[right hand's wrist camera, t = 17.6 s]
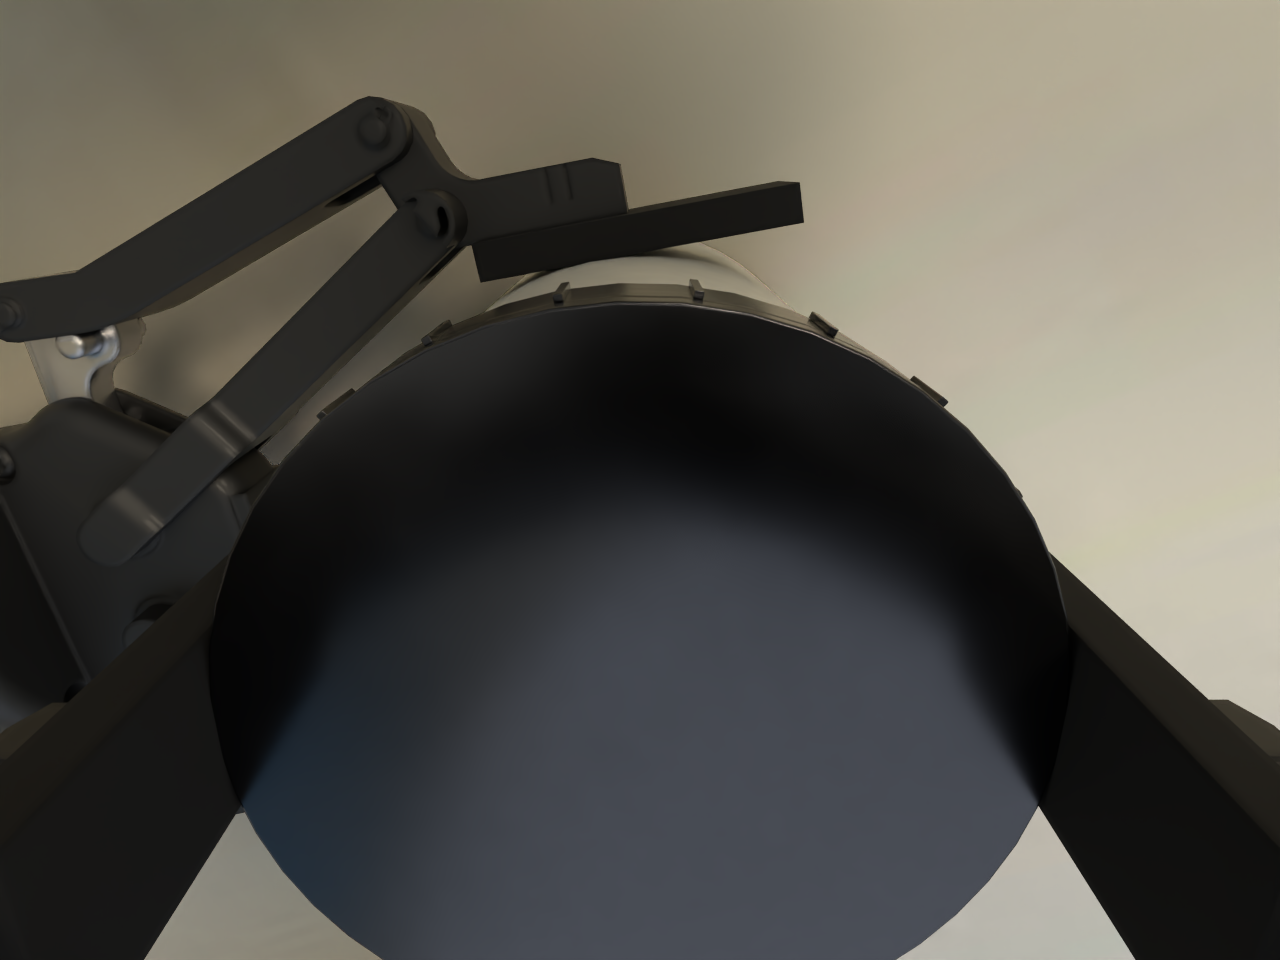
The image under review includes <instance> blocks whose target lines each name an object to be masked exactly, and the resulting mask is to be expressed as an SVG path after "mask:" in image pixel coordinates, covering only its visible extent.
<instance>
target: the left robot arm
mask: <svg viewBox="0 0 1280 960" xmlns="http://www.w3.org/2000/svg"><path fill="white" fill-rule="evenodd" d="M382 186H383V187H384V189H385V191H386V192H387V194H388V195H389V197H390V198H391V200H392V201H393V203H394V204H395V206H396V207H397V209H398V210H397V211H396V212H395V213H394V214H393V215H392V216H391V217H390V218H389V219H388V220H387V221H386V222H385V223H384V224H383V225H382V226H381V228H380V229H379V230H378V231H377V232H376V233H375V234H374V235H373V236H372V237H371V238H370V239H369V240H368V241H367V242H366V243H365V244H364V245H363V246H362V247H361V248H360V249H359V250H358V251H357V252H356V253H355V254H354V255H353V256H352V257H351V258H350V259H349V260H348V261H347V262H346V263H345V264H344V265H343V266H342V267H341V268H340V269H339V270H338V271H337V272H336V273H335V274H334V275H333V276H332V277H331V278H330V279H329V280H328V281H327V282H326V283H325V284H324V285H323V286H322V287H321V288H320V289H319V290H318V291H317V292H316V294H315V295H314V296H313V297H312V298H311V299H310V300H309V301H308V302H307V303H306V304H305V305H304V306H303V307H302V308H301V309H300V310H299V311H298V312H297V313H296V314H295V315H294V316H293V317H292V318H291V319H290V320H289V321H288V322H287V323H286V324H285V325H284V326H283V327H282V328H281V329H280V330H279V331H278V332H277V333H276V334H275V335H274V336H273V337H272V338H271V339H270V340H269V341H268V342H267V343H266V344H265V345H264V346H263V347H262V348H261V349H260V350H259V351H258V352H257V353H256V354H255V355H254V356H253V357H252V358H251V360H250V361H249V362H248V363H247V364H246V365H245V366H244V367H243V368H242V369H241V370H240V371H239V372H238V373H237V374H236V375H235V376H234V377H233V378H232V379H231V380H230V381H229V382H228V383H227V384H226V385H225V386H224V387H223V388H222V389H221V390H220V391H219V392H218V393H217V394H216V395H215V396H214V397H213V398H212V399H211V400H209V401H208V402H207V403H206V404H204V405H203V406H202V407H200V408H199V409H198V410H196V411H195V412H194V413H193V414H192V415H190V416H189V417H186V416H184V415H182V414H179V413H177V412H175V411H172V410H170V409H168V408H165V407H163V406H161V405H158V404H156V403H154V402H151V401H149V400H147V399H144V398H142V397H140V396H137V395H135V394H132V393H130V392H128V391H125V390H122V389H118V388H115V387H114V383H113V371H114V369H115V367H116V365H117V364H118V363H119V362H120V361H121V360H122V359H124V358H127V357H129V356H131V355H133V354H135V353H136V352H137V351H138V350H139V348H140V346H141V343H142V336H144V335H145V332H146V325H145V323H144V321H143V319H142V318H141V317H144V316H147V315H151V314H154V313H158V312H161V311H164V310H166V309H169V308H172V307H175V306H177V305H179V304H181V303H183V302H185V301H187V300H189V299H191V298H193V297H195V296H196V295H198V294H200V293H202V292H203V291H205V290H207V289H208V288H210V287H212V286H213V285H215V284H217V283H219V282H220V281H222V280H224V279H225V278H227V277H229V276H231V275H232V274H234V273H236V272H237V271H239V270H241V269H242V268H244V267H246V266H248V265H249V264H251V263H253V262H254V261H256V260H258V259H259V258H261V257H263V256H265V255H266V254H268V253H270V252H271V251H273V250H275V249H276V248H278V247H280V246H282V245H283V244H285V243H287V242H288V241H290V240H292V239H293V238H295V237H297V236H299V235H300V234H302V233H304V232H305V231H307V230H309V229H310V228H312V227H314V226H316V225H317V224H319V223H321V222H322V221H324V220H326V219H327V218H329V217H331V216H333V215H334V214H336V213H338V212H339V211H341V210H343V209H344V208H346V207H348V206H350V205H351V204H353V203H355V202H356V201H358V200H360V199H362V198H363V197H365V196H367V195H368V194H370V193H372V192H373V191H375V190H377V189H379V188H380V187H382ZM799 223H804V218H803V209H802V200H801V190H800V182H783V181H776V182H771V183H766V184H760V185H755V186H750V187H745V188H739V189H734V190H729V191H723V192H718V193H713V194H708V195H702V196H697V197H692V198H686V199H681V200H676V201H671V202H665V203H660V204H655V205H649V206H644V207H639V208H633V209H628V204H627V198H626V193H625V187H624V181H623V176H622V170H621V164H618V163H614V162H609V161H605V160H600V159H596V158H589V159H583V160H578V161H573V162H568V163H563V164H558V165H552V166H547V167H542V168H537V169H532V170H527V171H521V172H516V173H511V174H506V175H501V176H496V177H490V178H485V179H480V180H479V179H474V178H471V177H469V176H467V175H465V174H463V173H462V172H461V171H459V170H458V169H457V168H456V167H455V166H454V164H453V163H452V162H451V160H450V159H449V157H448V156H447V154H446V152H445V151H444V149H443V148H442V146H441V144H440V143H439V141H438V139H437V138H436V136H435V131H434V128H433V125H432V122H431V121H430V120H429V118H428V117H427V116H426V115H425V114H424V113H423V112H421V111H420V110H418V109H416V108H414V107H411V106H408V105H404V104H401V103H398V102H394V101H391V100H387V99H384V98H379V97H371V96H368V97H365V98H362V99H359V100H357V101H355V102H353V103H352V104H350V105H349V106H347V107H345V108H344V109H342V110H340V111H339V112H337V113H335V114H334V115H332V116H331V117H329V118H327V119H326V120H324V121H322V122H321V123H319V124H317V125H316V126H314V127H313V128H311V129H309V130H308V131H306V132H304V133H303V134H301V135H299V136H298V137H296V138H295V139H293V140H291V141H290V142H288V143H286V144H285V145H283V146H281V147H280V148H278V149H277V150H275V151H273V152H272V153H270V154H268V155H267V156H265V157H263V158H262V159H260V160H259V161H257V162H255V163H254V164H252V165H250V166H249V167H247V168H245V169H244V170H242V171H241V172H239V173H237V174H236V175H234V176H232V177H231V178H229V179H227V180H226V181H224V182H223V183H221V184H219V185H218V186H216V187H214V188H213V189H211V190H209V191H208V192H206V193H205V194H203V195H201V196H200V197H198V198H196V199H195V200H193V201H191V202H190V203H188V204H187V205H185V206H183V207H182V208H180V209H178V210H177V211H175V212H173V213H172V214H170V215H169V216H167V217H165V218H164V219H162V220H160V221H159V222H157V223H155V224H154V225H152V226H151V227H149V228H147V229H146V230H144V231H142V232H141V233H139V234H137V235H136V236H134V237H133V238H131V239H129V240H128V241H126V242H124V243H123V244H121V245H119V246H118V247H116V248H115V249H113V250H111V251H110V252H108V253H106V254H105V255H103V256H101V257H100V258H98V259H97V260H95V261H93V262H92V263H90V264H88V265H87V266H85V267H83V268H82V269H80V270H76V271H69V272H63V273H57V274H52V275H46V276H40V277H34V278H28V279H22V280H17V281H11V282H5V283H0V339H2V340H4V341H6V342H17V343H19V342H24V343H25V345H26V348H27V350H28V353H29V355H30V358H31V360H32V363H33V365H34V368H35V371H36V373H37V376H38V378H39V381H40V383H41V386H42V388H43V391H44V393H45V396H46V399H47V401H48V404H49V405H47V406H46V407H44V408H43V409H42V410H40V411H39V412H38V413H37V414H36V415H35V417H34V418H33V419H32V420H31V421H30V422H28V423H24V424H19V425H13V426H8V427H2V428H0V734H1V733H2V732H3V731H4V730H5V729H6V728H8V727H10V726H12V725H14V724H15V723H17V722H19V721H21V720H22V719H24V718H26V717H28V716H30V715H31V714H33V713H35V712H37V711H38V710H40V709H42V708H44V707H46V706H47V705H49V704H51V703H68V702H69V701H70V700H71V699H72V698H73V697H74V696H75V695H76V694H78V693H79V692H80V691H81V690H82V689H83V688H84V687H85V686H86V685H87V684H88V683H89V682H90V681H92V680H93V679H94V678H95V677H96V676H97V675H98V674H99V673H100V672H101V671H102V670H103V669H105V668H106V667H107V666H108V665H109V664H110V663H111V662H112V661H113V660H114V659H115V658H116V657H117V656H119V655H120V654H121V653H122V652H123V651H124V650H125V649H126V648H127V647H128V646H129V645H130V644H132V643H133V642H134V641H135V640H136V639H137V638H138V637H139V636H140V635H141V634H142V633H143V632H145V631H146V630H147V629H148V628H149V627H150V626H151V625H152V624H153V623H154V622H155V621H156V620H157V619H159V618H160V617H161V616H162V615H163V614H164V613H165V612H166V611H167V610H168V609H169V608H170V607H172V606H173V605H174V604H175V603H176V602H177V601H178V600H179V599H180V598H181V597H182V596H183V595H184V594H186V593H187V592H188V591H189V590H190V589H191V588H192V587H193V586H194V585H195V584H196V583H197V582H199V581H200V580H201V579H202V578H203V577H204V576H205V575H206V574H207V573H208V572H209V571H210V570H212V569H213V568H214V567H215V566H216V565H217V564H218V563H219V562H220V561H221V560H222V559H223V558H224V557H226V556H227V555H228V554H229V553H230V551H231V548H232V546H233V544H234V542H235V540H236V538H237V536H238V534H239V532H240V530H241V527H242V525H243V523H244V521H245V519H246V517H247V515H248V513H249V511H250V508H251V506H252V504H253V503H254V502H255V500H256V499H257V497H258V496H259V494H260V493H261V491H262V490H263V488H264V487H265V485H266V484H267V483H268V481H269V480H270V478H271V477H272V475H273V474H274V472H275V471H276V469H277V468H278V467H279V465H280V464H279V465H273V466H272V465H271V464H270V462H269V461H268V460H267V459H266V458H265V456H264V455H263V454H261V453H260V452H259V450H260V449H261V448H262V447H263V446H264V445H265V444H266V443H267V442H268V441H269V440H270V439H271V438H272V437H273V436H275V435H276V434H277V433H278V432H279V431H280V430H281V429H282V428H283V427H284V426H285V425H286V424H287V423H288V422H289V421H290V420H291V419H292V418H293V417H294V416H295V415H296V414H297V413H298V410H299V409H300V408H301V407H302V406H303V405H304V404H305V403H306V402H307V401H308V400H309V399H310V398H311V397H312V396H313V395H314V394H315V393H316V392H317V391H319V390H320V389H321V388H322V387H323V386H324V385H325V384H326V383H327V382H328V381H329V380H330V379H331V378H332V377H333V376H334V375H335V374H336V373H337V372H338V371H339V370H340V369H341V368H342V367H343V366H344V365H345V364H346V363H347V362H348V361H349V360H350V359H351V358H352V357H353V356H354V355H355V354H357V353H358V352H359V351H360V350H361V349H362V348H363V347H364V346H365V345H366V344H367V343H368V342H369V341H370V340H371V339H372V338H373V337H374V336H375V335H376V334H377V333H378V332H379V331H380V330H381V329H382V328H383V327H384V326H385V325H386V324H387V323H388V322H389V321H390V320H391V319H392V318H393V317H395V316H396V315H397V314H398V313H399V312H400V311H401V310H402V309H403V308H404V307H405V306H406V305H407V304H408V303H409V302H410V301H411V300H412V299H413V298H414V297H415V296H416V295H417V294H418V293H419V292H420V291H421V290H422V289H423V288H424V287H425V286H426V285H427V284H428V283H429V282H430V281H431V280H433V279H434V278H435V277H436V276H437V275H438V274H439V273H440V272H441V271H442V270H443V269H444V268H445V267H446V266H447V265H448V264H449V263H450V262H451V261H452V260H453V259H454V258H455V257H456V256H457V255H458V254H459V253H460V252H461V251H462V250H463V249H464V248H465V247H466V246H470V245H472V249H473V253H474V257H475V261H476V265H477V269H478V274H479V278H480V282H486V281H492V280H497V279H502V278H508V277H513V276H519V275H524V274H529V273H535V272H540V271H546V270H551V269H556V268H562V267H567V266H572V265H578V264H583V263H588V262H594V261H599V260H605V259H610V258H616V257H621V256H626V255H632V254H637V253H642V252H648V251H653V250H659V249H664V248H669V247H675V246H680V245H686V244H691V243H696V242H702V241H707V240H713V239H718V238H723V237H729V236H734V235H739V234H745V233H750V232H756V231H761V230H766V229H772V228H777V227H783V226H788V225H793V224H799ZM244 812H245V811H244V809H243V807H242V805H241V806H240V808H239V810H238V811H237V813H236V814H239V813H244Z"/></svg>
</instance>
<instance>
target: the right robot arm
mask: <svg viewBox="0 0 1280 960" xmlns="http://www.w3.org/2000/svg"><path fill="white" fill-rule="evenodd" d="M1049 554H1050V556H1051V559H1052V561H1053V563H1054V566H1055V569H1056V573H1057V577H1058V581H1059V585H1060V590H1061V594H1062V598H1063V602H1064V606H1065V610H1066V614H1067V622H1068V635H1069V648H1070V660H1071V673H1070V686H1069V699H1068V705H1067V711H1066V716H1065V721H1064V725H1063V730H1062V735H1061V739H1060V744H1059V748H1058V753H1057V758H1056V762H1055V766H1054V768H1053V771H1052V773H1051V776H1050V778H1049V781H1048V783H1047V786H1046V788H1045V791H1044V793H1043V796H1042V798H1041V801H1040V804H1039V805H1038V806H1039V807H1040V809H1041V811H1042V812H1043V814H1044V815H1045V817H1046V818H1047V820H1048V822H1049V823H1050V825H1051V826H1052V828H1053V830H1054V831H1055V833H1056V834H1057V836H1058V837H1059V839H1060V841H1061V842H1062V844H1063V845H1064V847H1065V849H1066V850H1067V852H1068V853H1069V855H1070V857H1071V858H1072V860H1073V861H1074V863H1075V864H1076V866H1077V868H1078V869H1079V871H1080V872H1081V874H1082V876H1083V877H1084V879H1085V880H1086V882H1087V884H1088V885H1089V887H1090V888H1091V890H1092V891H1093V893H1094V895H1095V896H1096V898H1097V899H1098V901H1099V903H1100V904H1101V906H1102V907H1103V909H1104V910H1105V912H1106V914H1107V915H1108V917H1109V918H1110V920H1111V922H1112V923H1113V925H1114V926H1115V928H1116V930H1117V931H1118V933H1119V934H1120V936H1121V937H1122V939H1123V941H1124V942H1125V944H1126V945H1127V947H1128V949H1129V950H1130V952H1131V953H1132V955H1133V957H1134V958H1135V960H1280V730H1278V729H1277V728H1276V727H1275V726H1274V725H1272V724H1270V723H1268V722H1267V721H1265V720H1263V719H1261V718H1259V717H1258V716H1256V715H1254V714H1252V713H1251V712H1249V711H1247V710H1245V709H1243V708H1242V707H1240V706H1238V705H1236V704H1234V703H1233V702H1231V701H1229V700H1208V699H1207V698H1206V697H1205V696H1204V695H1203V694H1202V693H1201V692H1200V691H1199V690H1198V689H1196V688H1195V687H1194V686H1193V685H1192V684H1191V683H1190V682H1189V681H1188V680H1187V679H1186V678H1185V677H1184V676H1182V675H1181V674H1180V673H1179V672H1178V671H1177V670H1176V669H1175V668H1174V667H1173V666H1172V665H1171V664H1169V663H1168V662H1167V661H1166V660H1165V659H1164V658H1163V657H1162V656H1161V655H1160V654H1159V653H1158V652H1157V651H1155V650H1154V649H1153V648H1152V647H1151V646H1150V645H1149V644H1148V643H1147V642H1146V641H1145V640H1144V639H1142V638H1141V637H1140V636H1139V635H1138V634H1137V633H1136V632H1135V631H1134V630H1133V629H1132V628H1131V627H1130V626H1128V625H1127V624H1126V623H1125V622H1124V621H1123V620H1122V619H1121V618H1120V617H1119V616H1118V615H1117V614H1115V613H1114V612H1113V611H1112V610H1111V609H1110V608H1109V607H1108V606H1107V605H1106V604H1105V603H1104V602H1102V601H1101V600H1100V599H1099V598H1098V597H1097V596H1096V595H1095V594H1094V593H1093V592H1092V591H1091V590H1090V589H1088V588H1087V587H1086V586H1085V585H1084V584H1083V583H1082V582H1081V581H1080V580H1079V579H1078V578H1077V577H1075V576H1074V575H1073V574H1072V573H1071V572H1070V571H1069V570H1068V569H1067V568H1066V567H1065V566H1064V565H1063V564H1061V563H1060V562H1059V561H1058V560H1057V559H1056V558H1055V557H1054V556H1053V555H1052V554H1051V553H1050V552H1049ZM228 556H229V554H228V555H227V556H226V557H224V558H223V559H222V560H221V561H220V562H219V563H218V564H217V565H216V566H215V567H214V568H213V569H212V570H210V571H209V572H208V573H207V574H206V575H205V576H204V577H203V578H202V579H201V580H200V581H199V582H197V583H196V584H195V585H194V586H193V587H192V588H191V589H190V590H189V591H188V592H187V593H186V594H184V595H183V596H182V597H181V598H180V599H179V600H178V601H177V602H176V603H175V604H174V605H173V606H172V607H170V608H169V609H168V610H167V611H166V612H165V613H164V614H163V615H162V616H161V617H160V618H159V619H157V620H156V621H155V622H154V623H153V624H152V625H151V626H150V627H149V628H148V629H147V630H146V631H145V632H143V633H142V634H141V635H140V636H139V637H138V638H137V639H136V640H135V641H134V642H133V643H132V644H130V645H129V646H128V647H127V648H126V649H125V650H124V651H123V652H122V653H121V654H120V655H119V656H117V657H116V658H115V659H114V660H113V661H112V662H111V663H110V664H109V665H108V666H107V667H106V668H105V669H103V670H102V671H101V672H100V673H99V674H98V675H97V676H96V677H95V678H94V679H93V680H92V681H90V682H89V683H88V684H87V685H86V686H85V687H84V688H83V689H82V690H81V691H80V692H79V693H78V694H76V695H75V696H74V697H73V698H72V699H71V700H70V701H69V702H68V703H51V704H49V705H47V706H46V707H44V708H42V709H40V710H38V711H37V712H35V713H33V714H31V715H30V716H28V717H26V718H24V719H22V720H21V721H19V722H17V723H15V724H14V725H12V726H10V727H8V728H6V729H5V730H4V731H3V732H2V733H1V734H0V960H144V959H145V957H146V956H147V954H148V952H149V951H150V949H151V948H152V946H153V945H154V943H155V941H156V940H157V938H158V937H159V935H160V933H161V932H162V930H163V929H164V927H165V926H166V924H167V922H168V921H169V919H170V918H171V916H172V914H173V913H174V911H175V910H176V908H177V906H178V905H179V903H180V902H181V900H182V899H183V897H184V895H185V894H186V892H187V891H188V889H189V887H190V886H191V884H192V883H193V881H194V879H195V878H196V876H197V875H198V873H199V872H200V870H201V868H202V867H203V865H204V864H205V862H206V860H207V859H208V857H209V856H210V854H211V853H212V851H213V849H214V848H215V846H216V845H217V843H218V841H219V840H220V838H221V837H222V835H223V833H224V832H225V830H226V829H227V827H228V826H229V824H230V822H231V821H232V819H233V818H234V816H235V814H236V813H237V811H238V810H239V808H240V806H241V803H240V801H239V799H238V797H237V796H236V794H235V792H234V789H233V786H232V783H231V780H230V777H229V774H228V771H227V769H226V766H225V763H224V759H223V755H222V751H221V747H220V742H219V738H218V733H217V728H216V723H215V718H214V713H213V708H212V704H211V698H210V676H209V646H210V638H211V630H212V622H213V614H214V606H215V600H216V597H217V594H218V590H219V587H220V583H221V580H222V576H223V573H224V570H225V566H226V563H227V559H228Z"/></svg>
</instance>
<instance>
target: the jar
mask: <svg viewBox="0 0 1280 960" xmlns="http://www.w3.org/2000/svg"><path fill="white" fill-rule="evenodd" d="M690 279H696V280H698V281H699V283H700V285H701V286H702V288H705V289H711V290H718V291H724V292H731V293H736V294H739V295H743V296H746V297H749V298H753V299H756V300H760V301H763V302H766V303H770V304H773V305H776V306H780V307H783V308H787V309H790V310H792V311H794V310H793V309H792V308H791V307H790V306H788V305H787V304H786V303H785V302H784V301H783V300H782V299H781V298H779V297H778V296H777V295H776V294H775V293H774V292H773V291H772V290H770V289H769V288H768V287H767V286H766V285H765V284H764V283H763V282H761V281H760V280H759V279H758V278H757V277H756V276H754V275H753V274H752V273H751V272H749V271H748V270H747V269H746V268H745V267H743V266H742V265H741V264H740V263H738V262H736V261H735V260H733V259H731V258H730V257H728V256H727V255H725V254H723V253H722V252H720V251H718V250H715V249H713V248H711V247H708V246H706V245H704V244H702V243H699V242H696V243H691V244H686V245H680V246H675V247H669V248H664V249H659V250H653V251H648V252H642V253H637V254H632V255H626V256H621V257H616V258H610V259H605V260H599V261H594V262H588V263H583V264H578V265H572V266H567V267H562V268H556V269H551V270H546V271H540V272H535V273H529V274H527V275H525V276H524V277H523V278H522V279H521V280H520V281H518V282H517V283H516V284H515V285H514V286H513V287H512V288H511V289H509V290H508V291H507V292H506V293H505V294H504V295H503V296H501V297H500V298H499V299H498V300H497V301H496V302H495V303H494V304H492V305H491V306H490V307H489V308H488V309H487V310H486V311H485V312H487V311H489V310H492V309H494V308H497V307H499V306H502V305H504V304H507V303H511V302H515V301H519V300H523V299H527V298H531V297H535V296H539V295H543V294H546V293H550V292H554V291H556V290H557V288H558V287H559V285H560V284H561V283H564V282H570V287H571V289H572V288H581V287H589V286H598V285H607V284H615V283H640V284H679V285H685V286H689V280H690ZM794 312H795V311H794ZM483 313H484V312H483Z"/></svg>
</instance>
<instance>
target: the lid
mask: <svg viewBox="0 0 1280 960" xmlns="http://www.w3.org/2000/svg"><path fill="white" fill-rule="evenodd" d="M421 341H422V342H423V343H422V344H420V345H418V346H416V347H415V348H413V349H411V350H410V351H408V352H406V353H405V354H403V355H402V356H401V357H400V358H398V359H397V360H396V361H394V362H393V363H392V364H390V365H389V366H388V367H386V368H385V369H384V370H383V371H381V372H380V373H379V374H377V375H376V376H375V377H373V378H372V379H371V380H370V381H368V382H367V383H366V384H364V385H363V386H362V387H361V388H359V389H358V390H357V391H356V392H355V391H354V390H353V389H350V390H349V391H347V392H346V393H345V394H343V395H342V396H341V397H339V398H338V399H337V400H335V401H334V402H333V403H331V404H330V405H329V406H327V407H326V408H325V409H323V410H322V411H321V412H320V413H319V414H318V415H317V417H318V418H319V419H320V421H319V422H318V423H317V424H316V425H315V426H314V427H313V428H312V429H311V430H310V432H309V433H308V434H307V435H306V436H305V437H304V438H303V439H302V440H301V441H300V442H299V443H298V444H297V445H296V446H295V448H294V449H293V450H292V451H291V452H290V453H289V454H288V455H287V456H286V457H285V458H284V459H283V461H282V462H281V464H280V465H279V467H278V468H277V469H276V471H275V472H274V474H273V475H272V477H271V478H270V480H269V481H268V483H267V484H266V485H265V487H264V488H263V490H262V491H261V493H260V494H259V496H258V497H257V499H256V500H255V502H254V503H253V504H252V506H251V508H250V511H249V513H248V515H247V517H246V519H245V521H244V523H243V525H242V527H241V530H240V532H239V534H238V536H237V538H236V540H235V542H234V544H233V546H232V548H231V551H230V553H229V556H228V559H227V563H226V566H225V570H224V573H223V576H222V580H221V583H220V587H219V590H218V594H217V597H216V600H215V606H214V614H213V622H212V630H211V638H210V646H209V676H210V698H211V704H212V708H213V713H214V718H215V723H216V728H217V733H218V738H219V742H220V747H221V751H222V755H223V759H224V763H225V766H226V769H227V771H228V774H229V777H230V780H231V783H232V786H233V789H234V792H235V794H236V796H237V797H238V799H239V801H240V803H241V805H242V807H243V809H244V811H245V813H246V815H247V817H248V819H249V821H250V823H251V825H252V827H253V828H254V830H255V832H256V834H257V835H258V837H259V838H260V840H261V841H262V843H263V844H264V845H265V847H266V848H267V850H268V851H269V853H270V854H271V855H272V857H273V858H274V860H275V861H276V863H277V864H278V865H279V867H280V868H281V870H282V871H283V872H284V873H285V874H286V876H287V877H288V878H289V879H290V880H291V881H292V882H293V883H294V884H295V886H296V887H297V888H298V889H299V890H300V891H301V892H302V893H303V894H304V895H305V897H306V898H307V899H308V900H309V901H310V902H311V903H312V904H313V905H314V906H315V907H316V908H317V909H318V910H319V911H320V912H322V913H323V914H324V915H325V916H326V917H327V918H329V919H330V920H331V921H332V922H333V923H334V924H335V925H337V926H338V927H339V928H340V929H341V930H342V931H343V932H345V933H346V934H347V935H348V936H349V937H351V938H352V939H354V940H355V941H357V942H358V943H360V944H361V945H362V946H364V947H365V948H367V949H368V950H370V951H371V952H373V953H374V954H375V955H377V956H378V957H380V958H381V959H383V960H896V959H898V958H899V957H901V956H902V955H904V954H905V953H907V952H909V951H910V950H912V949H913V948H915V947H916V946H918V945H919V944H921V943H922V942H923V941H924V940H926V939H927V938H928V937H929V936H931V935H932V934H933V933H934V932H936V931H937V930H938V929H939V928H940V927H942V926H943V925H944V924H945V923H947V922H948V921H949V920H950V919H951V918H953V917H954V916H955V915H956V914H957V913H958V912H959V911H960V910H961V909H962V908H963V907H964V906H965V905H966V904H967V903H968V902H969V901H970V900H971V899H972V898H973V897H974V896H975V895H976V894H977V893H978V892H979V891H980V890H981V889H982V888H983V887H984V886H985V884H986V883H987V882H988V881H989V880H990V879H991V877H992V876H993V875H994V873H995V872H996V871H997V869H998V868H999V867H1000V866H1001V864H1002V863H1003V862H1004V860H1005V859H1006V858H1007V856H1008V855H1009V854H1010V852H1011V851H1012V850H1013V848H1014V847H1015V846H1016V844H1017V843H1018V841H1019V839H1020V837H1021V835H1022V834H1023V832H1024V830H1025V828H1026V827H1027V825H1028V823H1029V821H1030V820H1031V818H1032V816H1033V814H1034V813H1035V811H1036V809H1037V807H1038V805H1039V804H1040V801H1041V798H1042V796H1043V793H1044V791H1045V788H1046V786H1047V783H1048V781H1049V778H1050V776H1051V773H1052V771H1053V768H1054V766H1055V762H1056V758H1057V753H1058V748H1059V744H1060V739H1061V735H1062V730H1063V725H1064V721H1065V716H1066V711H1067V705H1068V699H1069V686H1070V673H1071V660H1070V648H1069V635H1068V622H1067V614H1066V610H1065V606H1064V602H1063V598H1062V594H1061V590H1060V585H1059V581H1058V577H1057V573H1056V569H1055V566H1054V563H1053V561H1052V559H1051V556H1050V554H1049V551H1048V549H1047V547H1046V544H1045V542H1044V540H1043V537H1042V535H1041V532H1040V530H1039V528H1038V525H1037V523H1036V521H1035V518H1034V517H1033V515H1032V513H1031V512H1030V510H1029V509H1028V507H1027V505H1026V504H1025V502H1024V501H1023V499H1022V497H1023V496H1022V494H1021V492H1020V491H1019V490H1018V489H1017V488H1016V487H1015V486H1014V485H1013V483H1012V481H1011V480H1010V478H1009V476H1008V475H1007V473H1006V472H1005V471H1004V469H1003V468H1002V467H1001V466H1000V465H999V464H998V462H997V461H996V460H995V459H994V458H993V457H992V456H991V454H990V453H989V452H988V451H987V450H986V449H985V447H984V446H983V445H982V444H981V443H980V442H979V440H978V439H977V438H976V437H975V436H974V435H973V433H972V432H971V431H970V430H969V429H968V428H967V427H966V426H965V425H964V424H962V423H961V422H960V421H959V420H958V419H957V418H955V417H954V416H953V415H952V414H951V413H950V412H948V411H947V410H946V409H945V408H944V406H945V405H946V404H947V403H948V401H947V400H946V399H945V398H944V397H942V396H941V395H940V394H938V393H937V392H936V391H934V390H933V389H932V388H930V387H929V386H928V385H926V384H925V383H923V382H922V381H921V380H919V379H918V378H917V377H915V376H913V377H912V378H911V379H908V378H907V377H906V376H904V375H903V374H902V373H900V372H899V371H898V370H897V369H895V368H894V367H893V366H891V365H890V364H889V363H887V362H886V361H884V360H883V359H881V358H880V357H878V356H877V355H875V354H873V353H872V352H870V351H869V350H867V349H866V348H864V347H862V346H861V345H859V344H858V343H856V342H855V341H853V340H851V339H850V338H848V337H847V336H845V335H844V334H842V333H840V332H838V329H837V328H836V327H834V326H833V325H832V324H831V323H829V322H828V321H827V320H826V319H824V318H823V317H822V316H820V315H819V314H817V313H815V312H812V313H811V315H810V317H809V318H807V317H805V316H803V315H801V314H799V313H796V312H794V311H792V310H790V309H787V308H783V307H780V306H776V305H773V304H770V303H766V302H763V301H760V300H756V299H753V298H749V297H746V296H743V295H739V294H736V293H731V292H724V291H718V290H711V289H705V288H702V286H701V285H700V283H699V281H698V280H696V279H690V280H689V286H685V285H679V284H640V283H615V284H607V285H598V286H589V287H581V288H572V289H571V287H570V282H564V283H561V284H560V285H559V287H558V288H557V290H556V291H554V292H550V293H546V294H543V295H539V296H535V297H531V298H527V299H523V300H519V301H515V302H511V303H507V304H504V305H502V306H499V307H497V308H494V309H492V310H489V311H487V312H484V313H482V314H479V315H477V316H475V317H472V318H470V319H467V320H465V321H462V322H460V323H457V324H455V325H453V326H452V324H451V322H450V320H448V321H446V322H444V323H442V324H441V325H439V326H438V327H437V328H435V329H434V330H433V331H431V332H430V333H429V334H427V335H426V336H425V337H423V338H422V339H421Z"/></svg>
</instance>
